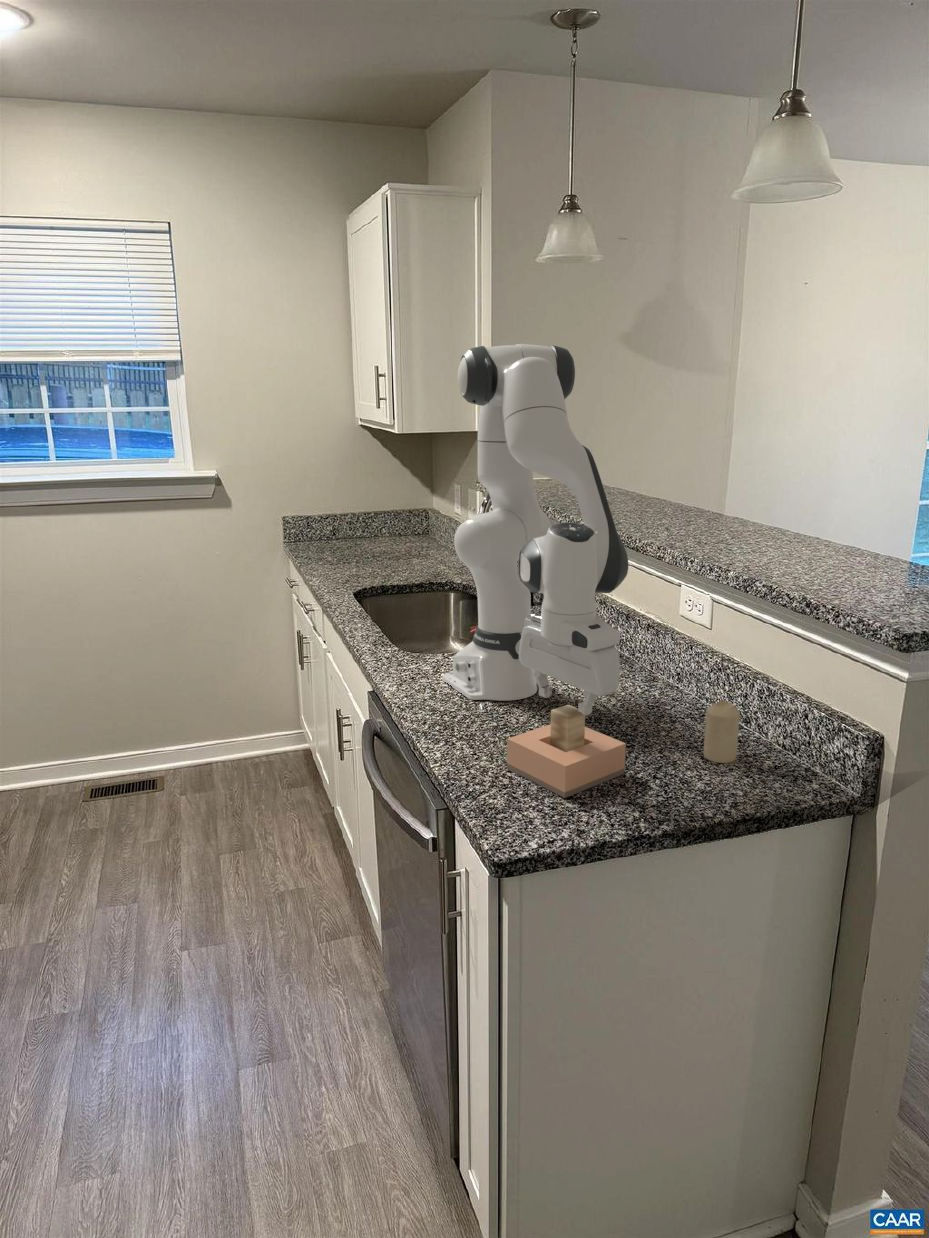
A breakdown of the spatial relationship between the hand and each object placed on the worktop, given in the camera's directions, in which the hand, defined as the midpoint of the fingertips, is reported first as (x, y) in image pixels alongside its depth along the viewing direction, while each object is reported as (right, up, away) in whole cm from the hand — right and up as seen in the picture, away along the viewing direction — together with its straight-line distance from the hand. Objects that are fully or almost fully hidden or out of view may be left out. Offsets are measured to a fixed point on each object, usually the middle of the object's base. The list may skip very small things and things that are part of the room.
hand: (564, 704), depth 140 cm
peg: (+1, -11, +2) cm, 11 cm away
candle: (+28, -10, +8) cm, 31 cm away
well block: (0, -12, +3) cm, 12 cm away
